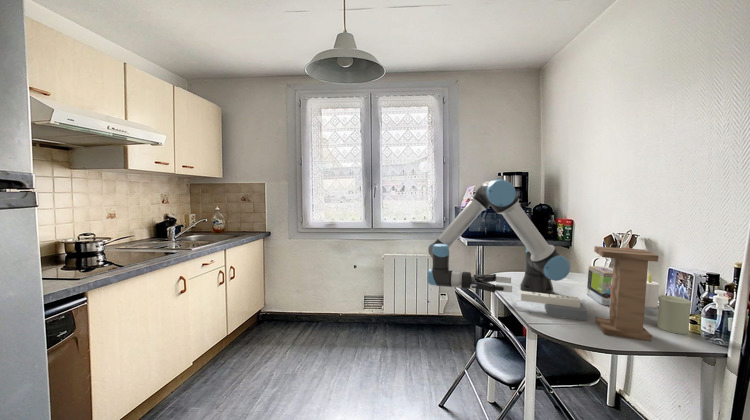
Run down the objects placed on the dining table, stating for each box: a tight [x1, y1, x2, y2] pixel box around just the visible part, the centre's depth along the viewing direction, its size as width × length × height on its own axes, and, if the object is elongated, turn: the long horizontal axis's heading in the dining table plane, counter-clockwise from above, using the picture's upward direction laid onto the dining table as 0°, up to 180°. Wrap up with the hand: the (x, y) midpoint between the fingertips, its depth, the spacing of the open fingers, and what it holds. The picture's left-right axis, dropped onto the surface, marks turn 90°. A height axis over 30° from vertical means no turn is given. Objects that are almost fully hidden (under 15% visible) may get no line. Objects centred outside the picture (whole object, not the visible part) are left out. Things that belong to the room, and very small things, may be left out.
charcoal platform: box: [544, 302, 588, 322], centre depth 142 cm, size 10×14×4 cm
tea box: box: [586, 265, 613, 306], centre depth 159 cm, size 15×10×15 cm, turn 171°
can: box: [656, 294, 692, 335], centre depth 128 cm, size 9×9×12 cm
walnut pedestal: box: [593, 245, 659, 342], centre depth 125 cm, size 12×16×30 cm
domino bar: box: [520, 290, 581, 308], centre depth 143 cm, size 4×22×3 cm, turn 69°
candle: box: [645, 272, 660, 309], centre depth 153 cm, size 6×6×15 cm
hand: (511, 284), depth 148 cm, fingers open, 13 cm apart
